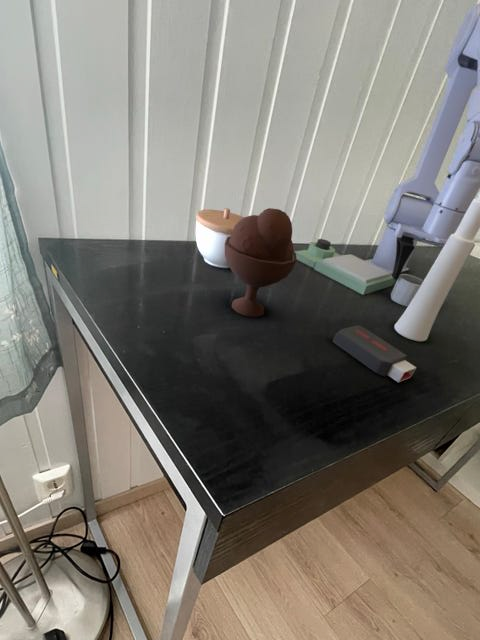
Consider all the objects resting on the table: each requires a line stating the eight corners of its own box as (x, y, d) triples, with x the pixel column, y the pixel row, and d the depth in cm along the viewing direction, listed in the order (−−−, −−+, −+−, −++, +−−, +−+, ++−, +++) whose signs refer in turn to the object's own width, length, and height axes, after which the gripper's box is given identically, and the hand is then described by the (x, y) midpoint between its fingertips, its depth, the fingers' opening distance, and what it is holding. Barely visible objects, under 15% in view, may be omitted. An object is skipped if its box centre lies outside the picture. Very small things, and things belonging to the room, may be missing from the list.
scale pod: (322, 252, 93) (326, 240, 91) (342, 262, 90) (347, 249, 88) (292, 257, 85) (296, 243, 83) (313, 268, 83) (317, 254, 81)
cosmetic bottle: (415, 325, 70) (490, 191, 56) (433, 343, 66) (519, 203, 52) (387, 322, 69) (457, 184, 54) (404, 340, 64) (484, 195, 50)
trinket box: (180, 256, 72) (185, 201, 66) (213, 247, 80) (221, 197, 73) (225, 277, 69) (234, 222, 63) (255, 266, 76) (267, 215, 70)
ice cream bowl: (279, 301, 66) (306, 206, 56) (279, 331, 58) (310, 226, 48) (220, 287, 65) (236, 189, 55) (211, 316, 57) (228, 206, 47)
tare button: (320, 245, 88) (322, 238, 86) (330, 250, 86) (333, 243, 85) (313, 246, 86) (315, 239, 85) (323, 251, 84) (325, 244, 83)
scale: (345, 263, 90) (349, 251, 88) (391, 286, 85) (397, 274, 83) (313, 269, 82) (317, 257, 81) (362, 295, 77) (368, 282, 75)
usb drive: (352, 336, 62) (359, 321, 60) (413, 377, 56) (422, 361, 54) (332, 341, 59) (338, 325, 57) (393, 385, 53) (403, 369, 51)
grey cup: (396, 293, 82) (407, 272, 79) (420, 304, 79) (431, 283, 76) (384, 297, 78) (394, 275, 75) (408, 309, 76) (420, 288, 73)
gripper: (417, 202, 64) (381, 281, 73) (497, 223, 65) (452, 298, 74) (407, 194, 69) (375, 268, 78) (482, 213, 70) (441, 284, 79)
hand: (412, 282), depth 76 cm, fingers open, 7 cm apart
